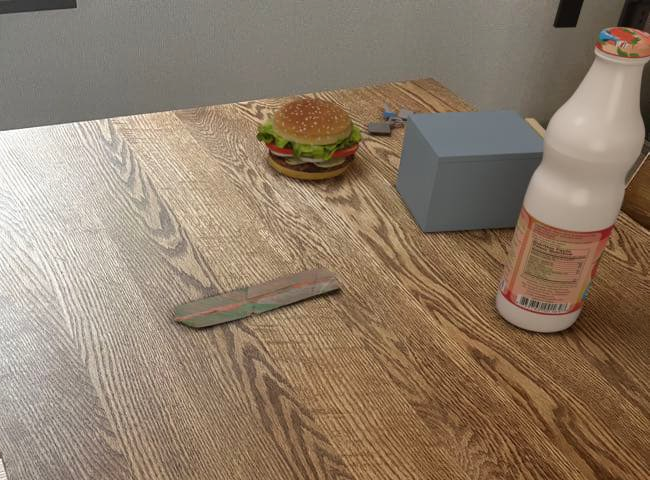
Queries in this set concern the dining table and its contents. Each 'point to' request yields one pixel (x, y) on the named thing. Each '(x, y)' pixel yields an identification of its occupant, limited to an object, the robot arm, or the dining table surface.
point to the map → (256, 298)
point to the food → (310, 139)
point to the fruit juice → (576, 189)
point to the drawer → (536, 127)
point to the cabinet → (467, 168)
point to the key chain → (386, 125)
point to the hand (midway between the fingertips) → (588, 46)
